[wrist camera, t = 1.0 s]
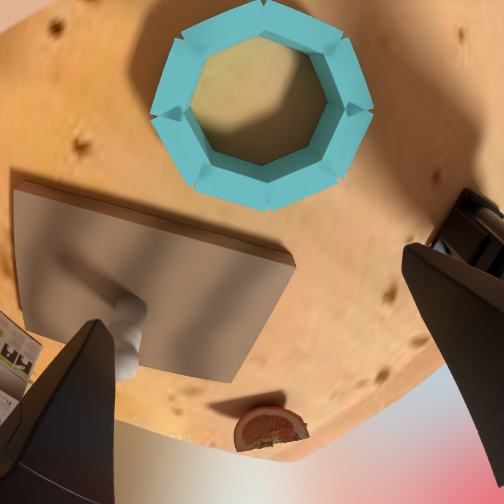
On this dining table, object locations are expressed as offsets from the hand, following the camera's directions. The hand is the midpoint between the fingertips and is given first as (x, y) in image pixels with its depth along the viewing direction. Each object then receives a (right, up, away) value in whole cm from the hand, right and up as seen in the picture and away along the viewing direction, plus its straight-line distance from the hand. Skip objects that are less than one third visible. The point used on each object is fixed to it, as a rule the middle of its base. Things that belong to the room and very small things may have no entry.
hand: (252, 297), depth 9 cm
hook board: (-9, -2, +15) cm, 18 cm away
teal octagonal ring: (0, +10, +8) cm, 13 cm away
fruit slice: (+2, -17, +26) cm, 32 cm away
